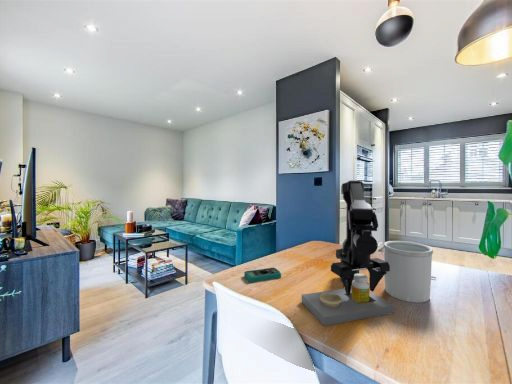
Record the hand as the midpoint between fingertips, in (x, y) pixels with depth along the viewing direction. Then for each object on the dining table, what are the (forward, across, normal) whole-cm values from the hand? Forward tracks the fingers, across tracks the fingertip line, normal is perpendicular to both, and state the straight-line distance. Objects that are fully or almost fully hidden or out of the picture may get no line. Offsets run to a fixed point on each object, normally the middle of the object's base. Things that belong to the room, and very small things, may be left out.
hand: (359, 292), depth 78 cm
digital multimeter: (+5, +24, -31) cm, 39 cm away
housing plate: (+4, +6, 0) cm, 7 cm away
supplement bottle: (+4, 0, 0) cm, 4 cm away
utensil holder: (+4, -22, -2) cm, 22 cm away
